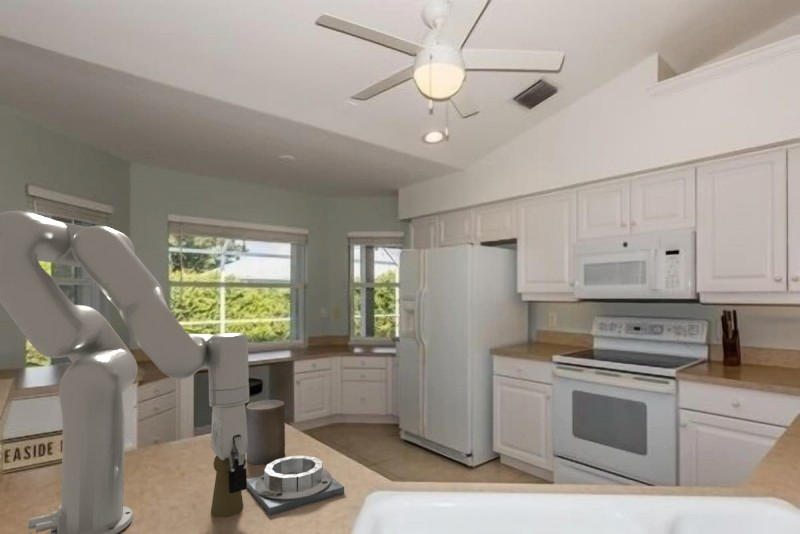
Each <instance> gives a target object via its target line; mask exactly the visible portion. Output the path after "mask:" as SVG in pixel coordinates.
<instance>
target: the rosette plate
mask: <svg viewBox="0 0 800 534" xmlns="http://www.w3.org/2000/svg"><path fill="white" fill-rule="evenodd" d="M263 473H264V474H262V475H259V476H255V477H249V478H247V488H246V489H247V490H249V492H250V494H251V495H252V496H253V497H254V498H255V499H256V502H258V504H259V505H260V506H261V507H262V508H263V510H264V511H265V512H266V514H267V515H268V517H271V516H274V515H277V514H281V513H285V512H288V511H291V510H292V511H293V510H295V509H298V508H301V507H304V506H308V505H311V504H314V503H319V502H322V501H325V500H329V499H333V498H335V497H338V496H341V495H345V485H343V484H341V483H340V482H339V481H338V480H336V479H335V478H333V477H332V474H331V473H330V472H329V471H328V470H327V469H324V467H323V461H322V460H321V459H319V458H318V457H315V456H309V455H292V456H287V457H286V456H285V457H284V458H281V459H278V460H275V461H273V462H271V463H268V464H266V466H265V468H264V472H263Z"/></svg>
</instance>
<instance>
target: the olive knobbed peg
mask: <svg viewBox="0 0 800 534" xmlns="http://www.w3.org/2000/svg"><path fill="white" fill-rule="evenodd" d="M234 453H236V452H234ZM234 453H231V454H234ZM235 459H237V458H235ZM235 459H233V463H234V461H235ZM213 469H214V470H215V480H214V486H213V487H214V488H213V494H212V501H211V508H210V514H211V515H212V516H213V517H215V518H216V517H217V518H226V517H227V518H228V517H230V516H235V515H237V514H239V513H241V512H242V510H243V509H244V501H243V493H242V491H238V492H235V493H230V492H229V478H228V471H230V466H229V461H228V458H225V460H221V459H220V458H219V457H218V456H217V455H216V456H215V457H214V460H213Z"/></svg>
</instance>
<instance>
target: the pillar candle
mask: <svg viewBox="0 0 800 534" xmlns="http://www.w3.org/2000/svg"><path fill="white" fill-rule="evenodd" d="M285 408H286V407H285V402H284V401H283V400H278V399H267V398H266V399H265V400H258V401H253V402H251V403H248V404H246V405H245V411H246V423H247V453H246V462H248V463H250V464H253V465H268V464H269V463H271V462H273V461H275V460H278V459H281V458H285V457H286V422H285V421H286V417H285V416H286V414H285V413H286V411H285Z"/></svg>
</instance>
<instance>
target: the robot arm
mask: <svg viewBox="0 0 800 534" xmlns="http://www.w3.org/2000/svg"><path fill="white" fill-rule="evenodd" d="M135 252H136V249H135V245H134V243H133V242H132V240H131V239H130V238H129V237H128V236H127V235H126V234H125V233H123V232H120V231H119V230H116V229H113V228H111V227H109V226H106V225H92V226H84V225H79V224H74V223H68V222H64V221H59V220H56V219H52V218H49V217H45V216H44V215H40V214H37V213H34V212H30V211H24V210H9V211H8V210H7V211H3V212H0V304H1V305H2V307H3V308H4V309H5V311H6V312H7V314H8V315H9V317H10V318H11V319H12V322H14V323H15V324H16V326H17V327H18V328H19V330H20V331H21V333H22V334H23V335H24V336H25V337H26V339H27V340H28V342H29V344H30V345H31V346H32V347H33V348H34V350H35V351H36V352H38V353H39V355H41V356H44V357H46V358H49V359H59V358H60V359H61V358H66V357H68V359H69V360H70V362H71V363H72V364H70V365H69V366H68V367H67V369H66V370H65V372H64V373H63V375H62V377H61V379H60V383H59V389H58V390H59V391H58V394H59V405H60V409H61V410H60V411H61V417H62V419H61V421H62V422H61V423H62V444H61V446H62V455H61V456H62V457H61V458H62V459H61V491H60V492H61V495H60V501H61V502H60V504H59V507H58V509H57V510H52V512H51V513H48V514H44V515H38V516H34V517H33V516H32V517H29V519H28V524H27V525H28V527H27V528H28V529H27V530H28V531H31V530H35V533H36V534H38V533H40V532H45V531H48V530H50V531H49V534H118V533H119V532H121V531H123V530H124V529H125V528H127V527H128V526H129V525H130V523H131V522H132V521H133V516H134V512H133V510H132V509H131V508H130V507H128V506H125V505H124V498H125V497H124V495H125V494H124V491H125V490H124V489H125V483H124V482H125V445H126V443H125V438H126V436H125V435H126V434H125V433H126V432H125V431H126V429H125V428H126V427H125V426H126V424H125V420H126V419H125V409H124V402H123V393H124V392H125V391H126V390H128V389H129V388H130V387H131V386H132V385H133V384H134V382H135V380H137V379H136V378H137V376H138V364H137V361H136V358H135V356H134V355H133V353H132V352H131V350H130V349H129V348H128V346H127V345H126V344H125V342H124V341H123V340H122V338H121V337H120V335H119V334H118V333H117V332H116V330H115V329H114V328H113V326H112V325H111V324H110V322H109V321H108V320H107V318H106V317H105V316H104V315H103V314H101V313H100V312H99V311H98V310H97V309H95V308H93V307H91V306H88V305H82V304H74V302H72V301H71V299H69V298H68V296H67V295H66V294H65V292H64V291H63V290H62V289H61V288H60V286H59V284H58V283H57V281H56V280H55V279H54V278H53V277H52V276H51V275H50V274H49V273H48V272H47V271H46V270H45V269H44V268H43V267H42V265H41V263H39V262H44V263H50V264H51V263H52V264H59V265H65V266H68V267H69V266H71V267H76V268H81V269H82V270H83V271H84V272H85V273H86V274H87V276H88V277H89V278H90V279H91V280H92V282H94V284H95V285H96V286H97V288H99V290H100V291H101V292H102V293H103V294H104V296H105V297H106V298H107V299H108V300H109V302H110V303H111V304H112V305H113V306H114V308H115V309H116V310H117V311H118V314H119V316H120V317H121V320H122V321H123V323H124V324H125V326H126V328H127V329H128V332H129V333H130V334H131V336H132V338H133V339H134V341H135V342H136V343H137V344H138V347H140V349H141V350H142V352H143V353H144V354H145V355H146V356H147V357H148V358H149V359H150V361H151V362H152V363H153V364H154V365H155V366H156V368H158V369H159V371H161V372H162V373H163V374H164V375H166V376H167V377H169V378H172V379H175V380H176V379H177V380H183V379H184V380H185V379H188V378H190V377H192V376H194V375H195V374H196V373H197V372H198V371H200V370H202V369H208V401H209V402H208V403H209V405H208V406H209V407H210V408H212V410H211V434H210V435H211V437H210V438H211V440H210V444H211V445H210V446H211V449H212V451H213V452H214V454H215V455H216V456H218V457H219V458H220V459H221V460H225V458H228V461H229V466H230V471H228V478H229V492H230V493H235V492H238V491H241V492H242V491H245V490H247V489H248V488H247V479H248V478H247V477H248V476H247V458H246V456H247V412H246V404H247V403H249V401H250V383H249V382H250V380H249V379H250V378H249V377H250V375H249V341H248V336H247V335H246V334H245V333H243V332H242V333H241V332H223V333H218V334H201V333H188V332H187V331H186V330H185V329H184V328H183V326H182V325H181V323H180V322H179V321H178V320H177V318H176V317H175V316H174V315H173V313H172V311H171V310H170V308H169V307H168V304H167V302H166V299H165V295H164V289H163V288H162V286H161V284H160V282H159V281H158V279H156V277H154V275H153V273H152V272H151V271H150V270H149V269H148V267H146V265H145V264H144V263H143V262H142V260H141V259H140V258H139V257H138V256H137V254H136V253H135ZM234 452H236V453H234ZM231 453H234V454H231ZM235 458H237V459H235ZM233 459H235V461H234V463H233Z"/></svg>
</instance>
